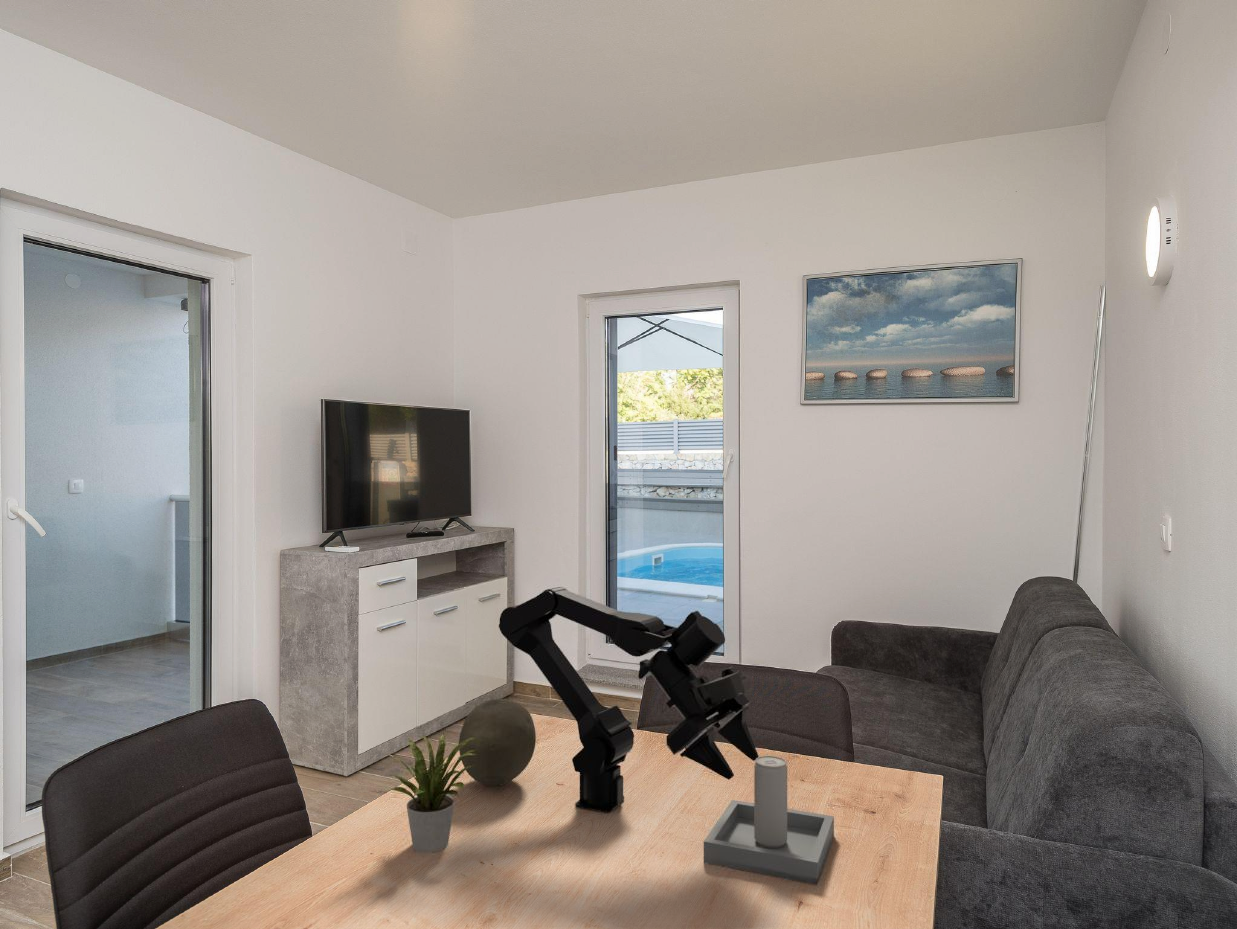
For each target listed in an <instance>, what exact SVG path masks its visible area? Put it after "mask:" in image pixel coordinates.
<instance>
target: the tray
mask: <svg viewBox="0 0 1237 929" xmlns="http://www.w3.org/2000/svg"><path fill="white" fill-rule="evenodd" d="M834 836H835V816H834V815H828V814H821V813H815V812H810V811H804V810H797V809H793V808H792V809H791V808H787V842H786V843H785V844H784V845H783V846H782V847H779V848H767V847H763V846H761V845H759V844H758V843H757V841H756V840H755V837H754V803H753V802H749V801H742V800H735V799H732V800H731V801H730V802H729V804H727V807H726V808H725V810H724V811H723V813H722V814H721V815H720V817H719V818H718V820H717V821H716V823H715V824H714V826H713V827H712V828H711V829H710V832H709V833H708V834H707V836H706V838H705V839H704V840H703V863H704V864H708V865H713V866H714V865H715V866H719V867H725V868H729V869H734V870H739V871H743V872H744V871H745V872H750V873H755V874H759V875H765V876H769V877H774V876H775V878H781V879H785V880H791V881H795V882H801V883H806V884H811V885H816V886H818V885H819V882H820V879H821V875H822V873H823V870H824V868H825V864H826V860H827V858H828V855H829V852H830V849H831V846H832V842H833V841H834V840H833V839H834V838H835V837H834Z"/></svg>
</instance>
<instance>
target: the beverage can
mask: <svg viewBox="0 0 1237 929" xmlns="http://www.w3.org/2000/svg"><path fill="white" fill-rule="evenodd" d="M754 762H755V763H754V771H753V772H754V774H753V775H754V777H753V778H754V787H753V788H754V789H753V790H754V792H753V794H754V798H753V800H754V837H755V840H756V841H757V843H758V844H759V845H761V846H763V847H767V848H779V847H782V846H783V845H784V844H785V843H786V842H787V809H788V767H787V766H788V765H787V760H786V759H785V758H782V757H778V756H776V755H775V756H774V755H762V756H759V757H758V758H756V760H755V761H754Z"/></svg>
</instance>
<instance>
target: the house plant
mask: <svg viewBox="0 0 1237 929" xmlns="http://www.w3.org/2000/svg"><path fill="white" fill-rule="evenodd" d="M421 735H422V737H423V740H424V742H425V744H426V746H427V750H428V758H429V765H428V768H427V763H426V760H425V756H424V754H423V753H424V751H425V749H424V748H423V749H422V750H421V749H420V747H418V746H417V745H416V743H415V742H414V741H413V740H412V739H409V738H407V740H408V742H409V743H408V744H409V746H410V748H411V749H410V750H411V751H412V754H413V757H414V766H412V765H410V763H409V764H408V765H409V766H408V765H407V764H406V763H405V762H404V761H403V760H402V759H400V758H398V757H396V756H394V755H392V754H390V753H385V755H386V756H389V757H392V758H394V759H395V760H397V761H398V762H400V763H401V764H402V765H403V766H404V767H405V768H406V770H407V771H408V772H409V773H410V774H411V776H412V777H413V779H414V780H415V782H416V783H417V784H418V787H417V785H415V784H414V783H412V781H410V780H408V779H407V778H404V777H403V776H400V775H396V774H394V775H393V776H394V777H395V779H398V780H399V781H400V782H401V783H402V784H403V785H404V786H406V787H407V788H408V789H409V790H407V788H405V787H402V786H396V787H393V788H391V789H390V791H394V792H395V791H396V792H400V793H403V794H405V795H407V796H409V797H410V798H411V799H410V800H409V801H408V802H407V803H406V806H405V807H406V812H407V817H408V824H409V825H408V826H409V831H410V837H411V843H412V844H411V845H412V848H413V850H414V851H416V852H419V853H424V854H426V853H436V852H439V851H442V850H444V849H445V848H447V847H448V845H449V840H450V834H451V828H452V822H453V817H454V816H453V815H454V812H455V810H454V809H455V803H456V801H455V798H454V797H452V796H450V795H455V796H457V797H460V795H459V793H458V791H457V790H455V789H451V788H452V787H453V788H454V787H456V788H459V789H461V791H464V786H465V784H464V783H463V782H462V781H458V782H456V781H457V779H459V777H460V776H461V775H462V774H463V775H465V773H464V772H466V769H468V768H470V767H472V766H468V767H466V768H462V769H461V770H456V768H457V767H458V765H459V764H460V763H461V762H462V759H463V758H464V757H465V756H466V755H477V754H472V753H470V752H473V751H475V750H471V751H468V752H466V753H464V754H463V755H461V756H460V755H459V756H458V757H457V759H456V761H455V762H453V763H452V764H451V762H452V761H453V759H454V757H455V756H456V754H457V753H458V752H459V750H460V749H461V748H462V747H463V746H464V745H465V744H466V743H467V742H468V741H470V740H472V739H475V738H477V737H473V738H469V739H466V740H464V741H463V742H461V743H460V744H459V743H458V744H457V745H456V747H455V748H454V749H453V750H451V752H450V754H449V755H448V756H446V757H444V755H445V753H446V751H449V750H448V749H446V740H445V739H446V738H445V737H446V735H445V733H444V732H443V733H442V734H441V736H440V737H439V742H438V745H437V751H436V755H434V750H433V746H432V744H431V743H430V740H428V738H427V737H426V735H424V734H423V733H422V732H421ZM446 759H447V760H446ZM445 760H446V762H445ZM450 764H451V765H450ZM449 765H450V766H449ZM453 775H454V777H453V778H452V779H451V777H452V776H453ZM450 779H451V781H450ZM449 781H450V782H449ZM448 782H449V784H448ZM447 784H448V785H447ZM410 790H411V792H410ZM412 793H413V794H414V795H413V794H412Z"/></svg>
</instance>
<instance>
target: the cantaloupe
mask: <svg viewBox="0 0 1237 929" xmlns="http://www.w3.org/2000/svg"><path fill="white" fill-rule="evenodd" d="M536 735H537V734H536V726H535V722H534V719H533V717H532V715H531V713H530V712H529V710H528V709H527V708H526V707H525V706H524V705H522V704H521V703H520V702H517V701H513V700H511V699H505V698H494V699H493V698H492V699H489V700H486V701H484V702H482V703H480V704H478V705H476V706H475V707H474V708H473V709H471V711H470V712H469V713H468V715H467V716H466V718H465V719H464V722H463V725H462V727H461V731H460V734H459V738H458V745H459V744H460V743H461V742H463V741H464V740H466V739H469V738H473V737H477V738H475V739H472V740H470V741H468V742H467V743H466V744H465V745H464V746H463V747H462V748H461V749H460V750H459V751H458V752H459V757H460V756H461V755H463V754H464V753H466V752H468V751H471V750H475V751H473V752H470V753H472V754H477V755H466V756H465V757H464V758H463V759H462V760H461V762H462V765H463V767H464V768H466V767H468V766H472V767H470V768H468V769H466V770H465V772H466V774H468V775H469V776H470V777H471V778H472V779H473V780H474V781H475V782H477V783H478V784H480V785H483V786H486V787H499V786H503V785H506V784H508V783H509V782H511V781H513V780H514V779H516V778H517V777H518V776H520V775H521V773H523V772H524V770H526V768H527V767H528V765H529V763H530V762H531V760H532V758H533V756H534V752H535V748H536V741H537V740H536V739H537V737H536ZM464 768H463V769H464Z"/></svg>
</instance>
